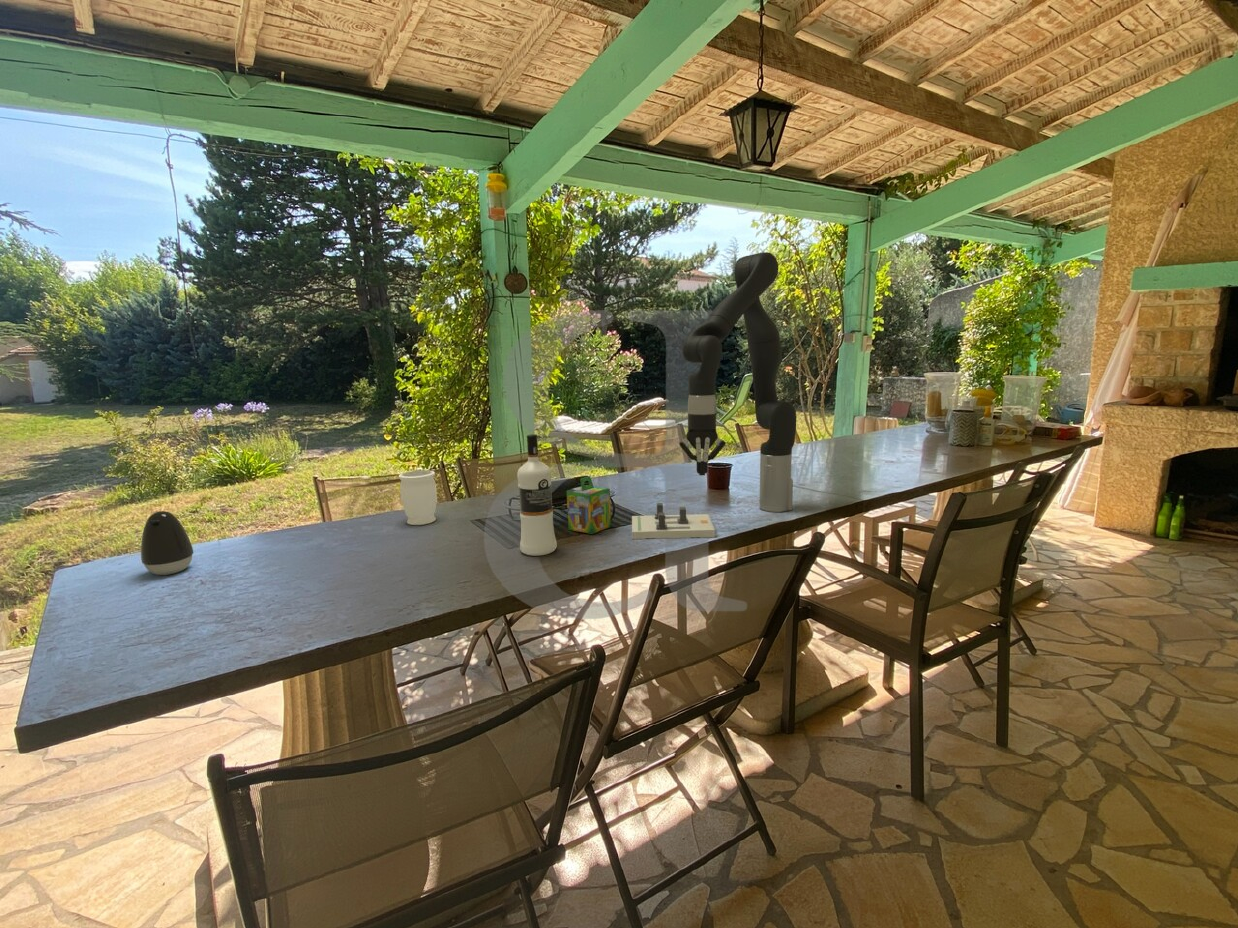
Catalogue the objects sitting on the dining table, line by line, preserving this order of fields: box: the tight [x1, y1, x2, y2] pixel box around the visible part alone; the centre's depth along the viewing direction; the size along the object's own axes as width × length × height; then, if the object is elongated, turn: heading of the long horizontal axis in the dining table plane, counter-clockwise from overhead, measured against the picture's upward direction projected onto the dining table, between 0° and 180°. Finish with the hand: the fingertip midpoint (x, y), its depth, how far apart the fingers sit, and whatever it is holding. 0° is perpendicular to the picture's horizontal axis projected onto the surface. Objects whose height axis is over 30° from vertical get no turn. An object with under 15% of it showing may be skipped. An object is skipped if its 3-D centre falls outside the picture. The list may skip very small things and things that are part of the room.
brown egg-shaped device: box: [140, 510, 194, 576], centre depth 147 cm, size 10×10×15 cm
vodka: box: [516, 433, 558, 557], centre depth 152 cm, size 9×9×30 cm
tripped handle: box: [677, 506, 688, 523], centre depth 168 cm, size 3×3×4 cm
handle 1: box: [654, 502, 664, 518], centre depth 173 cm, size 3×3×4 cm
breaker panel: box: [631, 513, 716, 540], centre depth 169 cm, size 22×15×2 cm
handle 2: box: [656, 512, 667, 529], centre depth 164 cm, size 3×3×4 cm
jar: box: [398, 469, 438, 526], centre depth 183 cm, size 11×10×15 cm
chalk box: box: [566, 475, 612, 535], centre depth 171 cm, size 9×9×15 cm
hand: (701, 474), depth 166 cm, fingers closed
